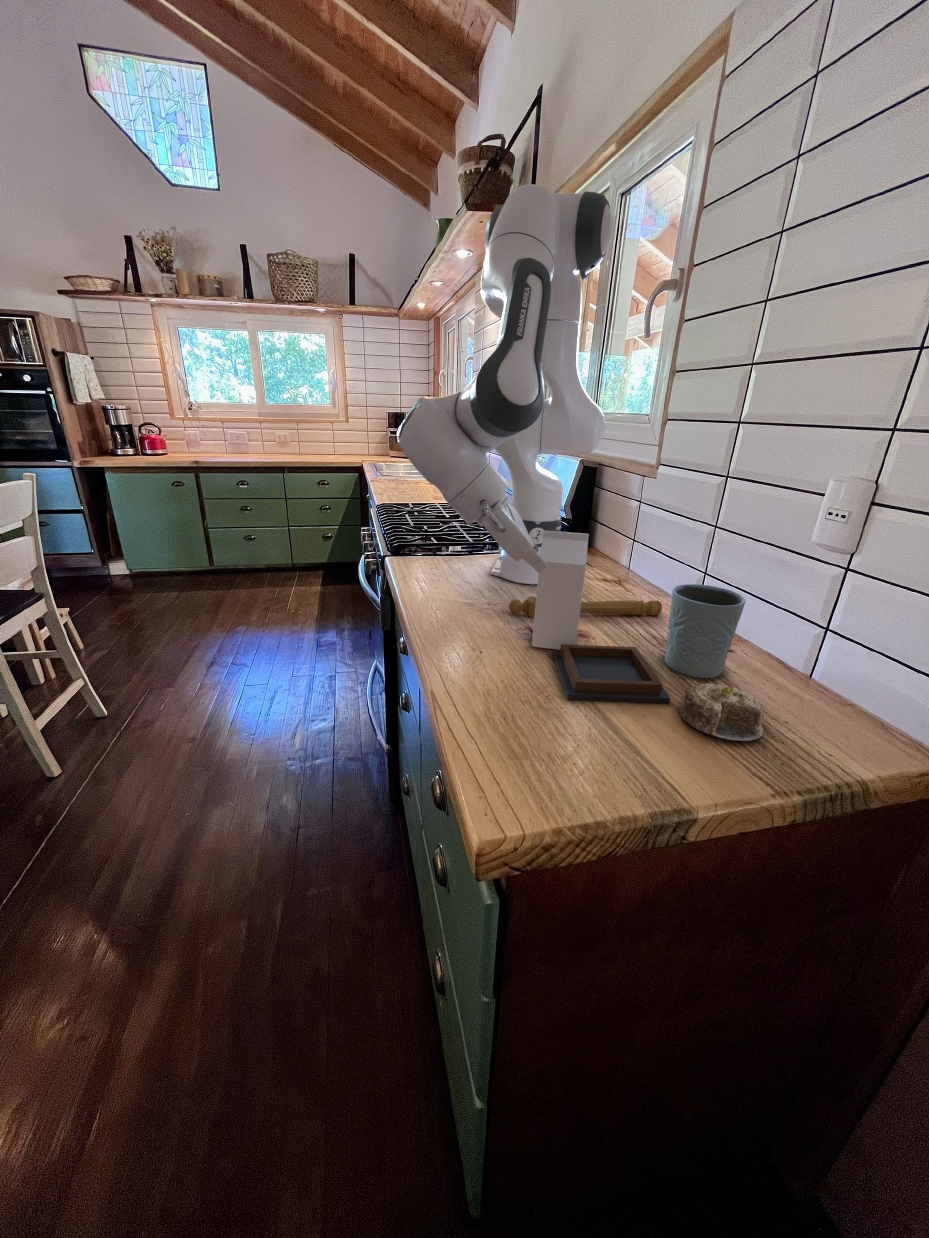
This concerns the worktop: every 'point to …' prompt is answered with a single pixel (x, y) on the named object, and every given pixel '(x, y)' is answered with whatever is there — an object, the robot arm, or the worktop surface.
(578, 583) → the milk carton
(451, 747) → the worktop surface
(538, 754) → the worktop surface
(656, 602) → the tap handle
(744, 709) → the cake
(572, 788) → the worktop surface
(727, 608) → the blue plant pot
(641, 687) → the shallow square tray
